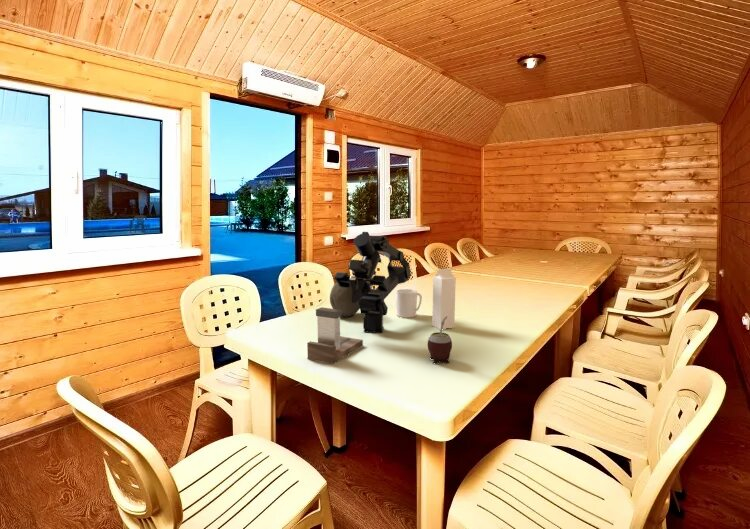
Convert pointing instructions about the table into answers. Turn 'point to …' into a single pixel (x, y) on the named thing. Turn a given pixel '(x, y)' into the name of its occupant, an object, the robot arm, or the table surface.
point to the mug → (407, 303)
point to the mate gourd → (440, 345)
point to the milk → (443, 298)
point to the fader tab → (329, 326)
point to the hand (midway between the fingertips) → (352, 302)
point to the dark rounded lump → (343, 300)
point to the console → (332, 350)
